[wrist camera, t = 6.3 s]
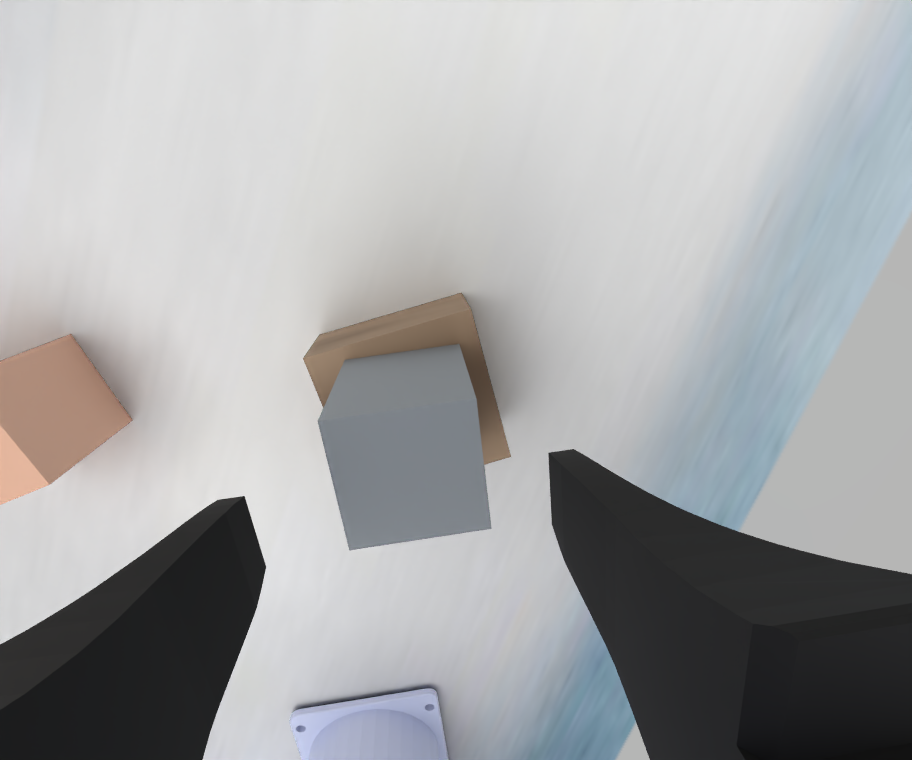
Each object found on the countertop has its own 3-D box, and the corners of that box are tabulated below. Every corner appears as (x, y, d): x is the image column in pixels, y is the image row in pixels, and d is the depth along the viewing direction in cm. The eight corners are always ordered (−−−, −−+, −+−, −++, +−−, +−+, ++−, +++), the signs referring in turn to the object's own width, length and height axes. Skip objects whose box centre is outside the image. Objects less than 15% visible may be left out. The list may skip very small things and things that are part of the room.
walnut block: (495, 419, 22) (510, 456, 19) (368, 456, 22) (361, 500, 19) (460, 291, 20) (470, 308, 17) (320, 333, 20) (302, 358, 17)
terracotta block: (133, 420, 20) (49, 484, 16) (47, 454, 20) (-61, 529, 16) (71, 333, 19) (-41, 376, 14) (-20, 372, 19) (-160, 426, 14)
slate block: (471, 445, 18) (491, 528, 14) (366, 460, 18) (349, 550, 13) (459, 343, 17) (476, 398, 12) (344, 359, 17) (317, 420, 12)
